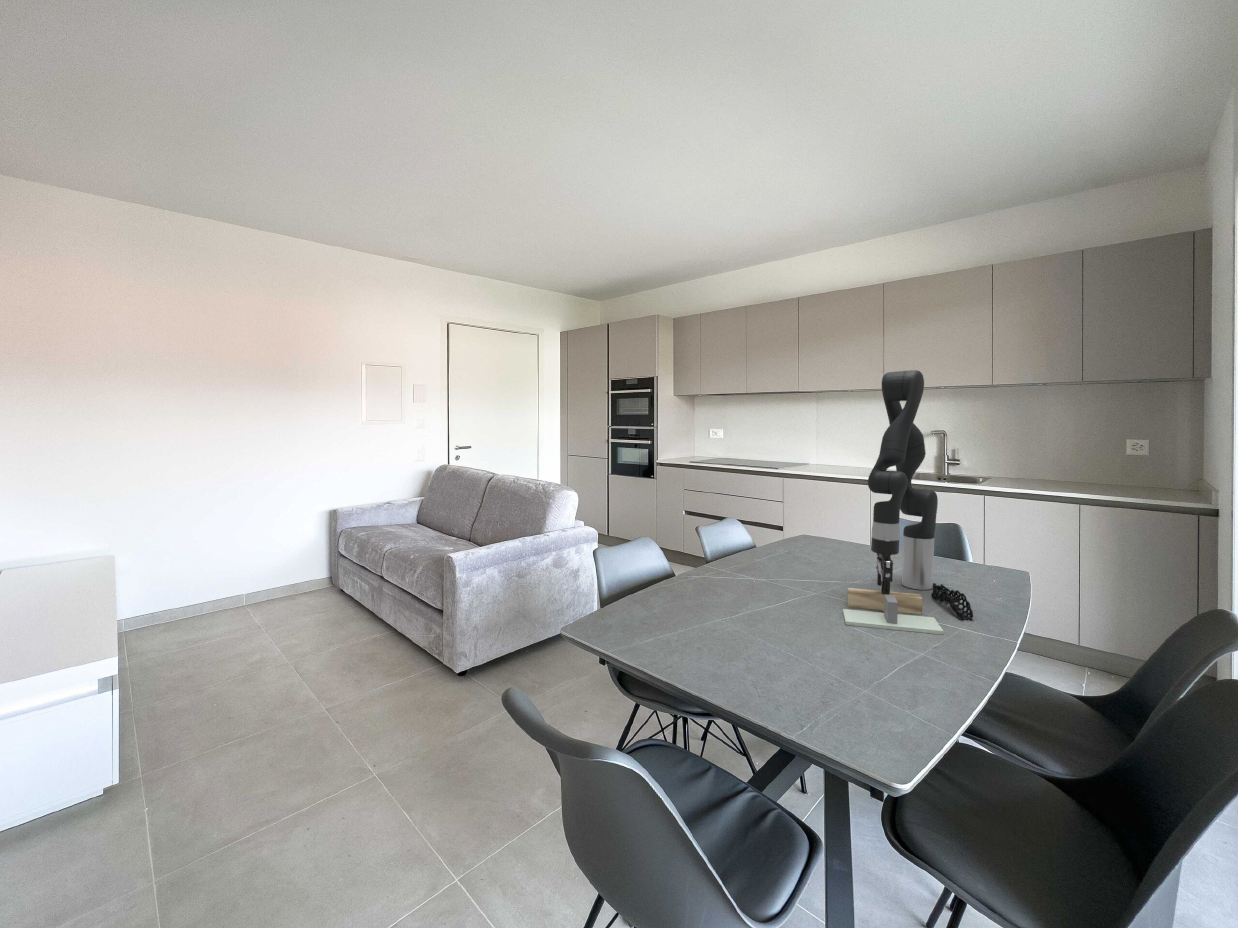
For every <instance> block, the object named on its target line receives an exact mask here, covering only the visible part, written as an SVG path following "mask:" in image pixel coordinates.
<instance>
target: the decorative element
mask: <svg viewBox="0 0 1238 928" xmlns="http://www.w3.org/2000/svg"><path fill="white" fill-rule="evenodd" d="M930 596H931V598H932V599H935V600H936V601H940V602H945V603H948V604H949V605H950V608H951V610H952V611H953V612H954V613H955V614H956V616H957V617H958V618H959V619H960V620H962V621H969V620H970V621H972V620H973V619H972V618H974V612H973V609H972V607H971V606H972V605H971V603H970V601H968V599H967V596H966V595H965V594H964V593H963V592H960V591H959V590H958V589H957V590H954V589H951V590H950V589H949V588H948V587H946V586H945V585H944V584H940V585H937V583H934V582H933V584H932V592H931V594H930ZM960 606H962V607H960Z"/></svg>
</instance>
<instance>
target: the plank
mask: <svg viewBox="0 0 1238 928" xmlns="http://www.w3.org/2000/svg"><path fill="white" fill-rule="evenodd" d="M884 595H887V594H882V593H881V590H873V589H864V588H854V587H853V588H852V587H848V588H847V607H848V608H855V609H866V610H874V611H883V612H884ZM889 595H892V596H895V598H896V600H897V602H898V613H904V614H905V613H906V614H907V613H908V614H912V615H914V614H915V615H923V601H924V599H923V597H922V595H921V594H920V593H908V592H897V591H890V594H889Z"/></svg>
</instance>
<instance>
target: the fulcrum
mask: <svg viewBox="0 0 1238 928" xmlns="http://www.w3.org/2000/svg"><path fill="white" fill-rule="evenodd" d="M842 613H843V618H844V623H845V625H846V626H853V627H863V628H875V629H884V630H894V631H903V632H912V633H913V632H914V633H921V634H922V633H923V634H933V635H941V636H942V635H944V630H943V628H942V627H941V626H940V623H939V622H938V621H937V620H936V618H935V617H932V616H923V615H914V614H912V615H911V614H900V613H899V612H898V602H897V600H896V598H895V596H892V595H884V611H883V612H879V611H867V610H858V609H856V610H855V609H846V608H842Z"/></svg>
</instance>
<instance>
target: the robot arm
mask: <svg viewBox="0 0 1238 928" xmlns="http://www.w3.org/2000/svg"><path fill="white" fill-rule="evenodd" d="M924 379H925V378H924V375H923V373H922V372H921V371H920V370H917V369H913V370H900V371H899V370H898V371H890V372H886V373H884V374H883V376H882V379H881V393H882V398H883V403H884V406H885V410H886V414H887V417H888V423H889V425H888V427H887V428H886V430H885V431H884V433H883V436H882V438H881V442H880V443H881V444H880V448H879V454H878V457H877V459H876V461H875V464H874V466H873V468H872V469H871V471H870V473H869V475H868V479H867V487H868V489H869V490H870V492H872V493H875V494H881V495H882V494H883V495H891V497H890V499H889V500H885V501H884V500H883V501H877V502H875V503H874V505H873V513H872V517H873V518H872V526H871V540H870V542H871V543H870V550H871V552H873V553H875V554H876V559H875V561H876V562H875V569H876V572H877V577H876V580H877V581H876V584H877V586H878V587H881V589H880V591H881V593H882V594H887V595H889V594H890V592H891V583H892V582H894V581H893V573H894V572H893V571H894V570H893V569H894V566H893V565H894V561H893V559H892V558H891V556H892V555H894V556H895V555H898V554H900V534H901V531H900V529H901V528H900V514H901V513H902V514H903V515H905V516H913V517H920V518H921V521H920V522H919V523H915V524H908V525H905V526H904V527H903V532H902V535H903V536H902V563H901V566H902V567H901V585H902V586H904V587H905V588H908V589H912V590H913V589H914V590H922V591H923V590H925V591H926V590H927V591H928V590H931V589H933V583H934V582H933V581H934V559H935V558H934V557H935V556H934V554H935V532H936V525H937V513H938V504H939V503H938V502H939V501H938V499H939V498H938V495H937V493H936V491H935V490H932V489H923V488H921V489H920V488H914V487H913V485H912V480H913V477H914V475H915V473H916V472H917V470H918V469H919V468H920V467H921V465H922V464H923V461H924V460H925V457H926V443H925V437H924V434H923V433H922V430H920V428H919V427H918V426H917V425H916V423H914V421H915V419H916V416H917V413H918V409H919V406H920V405H921V400H922V398H923V394H924V389H925V380H924ZM901 402H905V404H904V406H903V407H902V405H901ZM891 467H895V470H888V469H890V468H891Z"/></svg>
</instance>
